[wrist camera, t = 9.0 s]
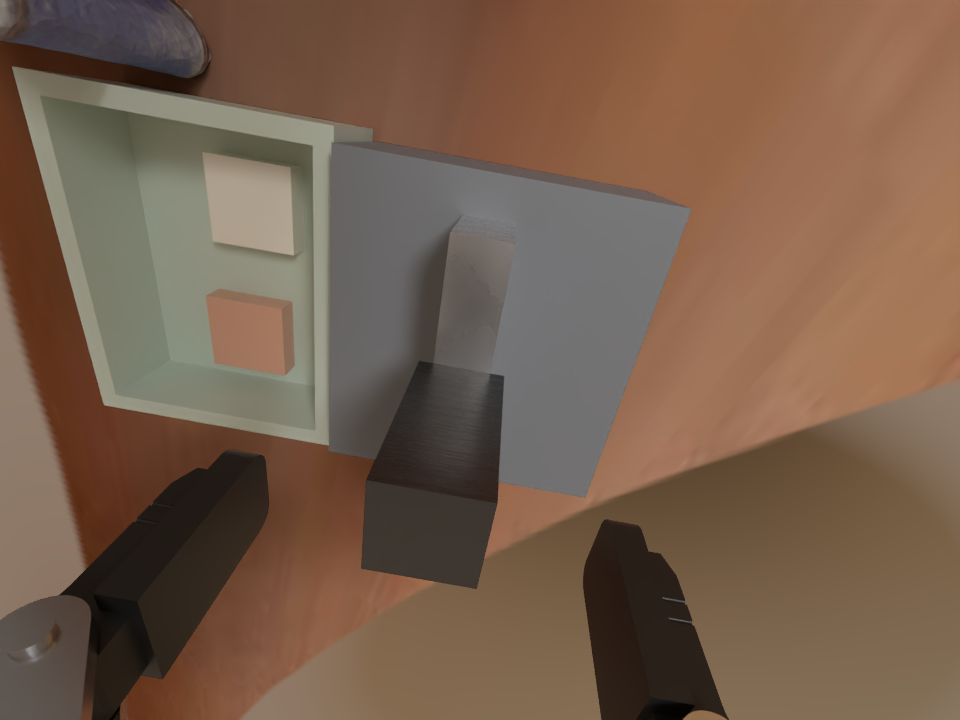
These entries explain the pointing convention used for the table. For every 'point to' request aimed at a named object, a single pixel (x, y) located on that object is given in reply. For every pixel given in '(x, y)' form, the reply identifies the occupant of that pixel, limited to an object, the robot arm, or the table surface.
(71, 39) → the flask
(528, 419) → the grey slotted block
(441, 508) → the scraper
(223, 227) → the tile cream
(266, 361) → the tile terracotta
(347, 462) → the table surface
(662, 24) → the table surface
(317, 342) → the box
